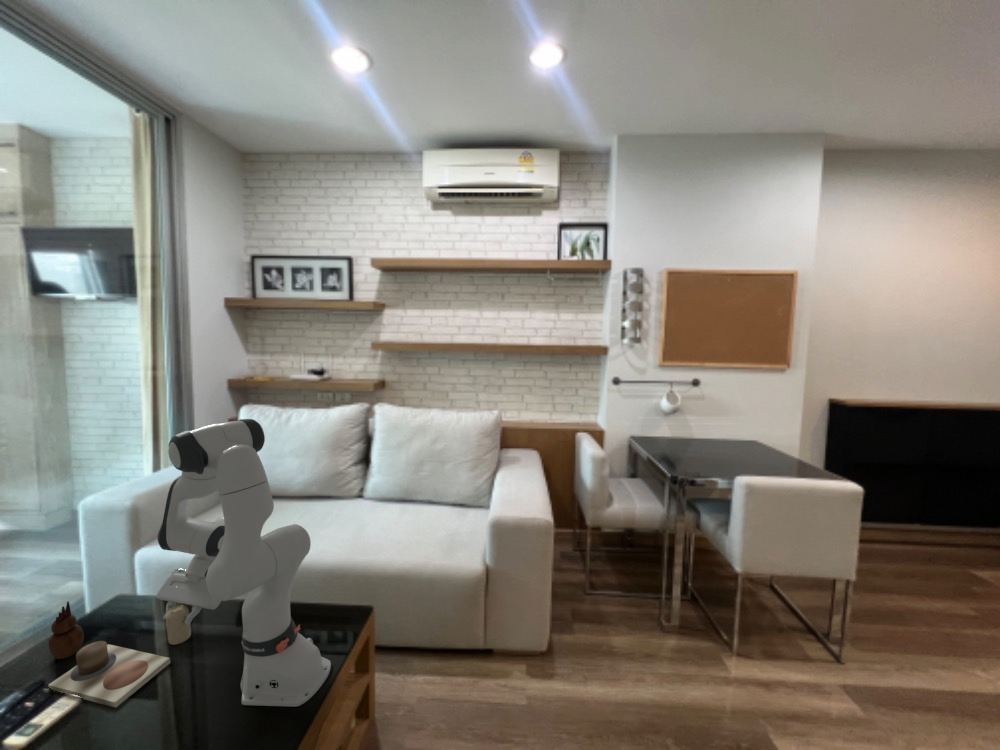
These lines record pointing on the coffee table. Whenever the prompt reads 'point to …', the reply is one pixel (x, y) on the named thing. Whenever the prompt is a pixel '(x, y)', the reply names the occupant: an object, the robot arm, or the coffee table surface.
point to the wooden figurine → (65, 635)
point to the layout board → (109, 673)
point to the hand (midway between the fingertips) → (176, 621)
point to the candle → (177, 625)
